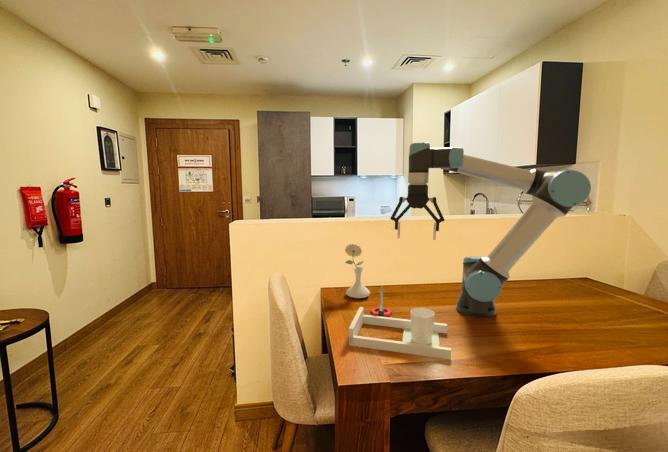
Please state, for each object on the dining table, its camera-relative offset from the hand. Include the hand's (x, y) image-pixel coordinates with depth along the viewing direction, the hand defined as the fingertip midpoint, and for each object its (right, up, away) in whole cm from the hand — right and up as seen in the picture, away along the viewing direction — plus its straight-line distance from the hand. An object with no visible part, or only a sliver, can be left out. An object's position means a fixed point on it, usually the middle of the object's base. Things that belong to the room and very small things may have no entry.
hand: (416, 238), depth 125 cm
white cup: (-3, -34, -17) cm, 38 cm away
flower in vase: (-22, -29, +27) cm, 45 cm away
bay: (-10, -34, -15) cm, 38 cm away
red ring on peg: (-13, -31, +7) cm, 35 cm away
